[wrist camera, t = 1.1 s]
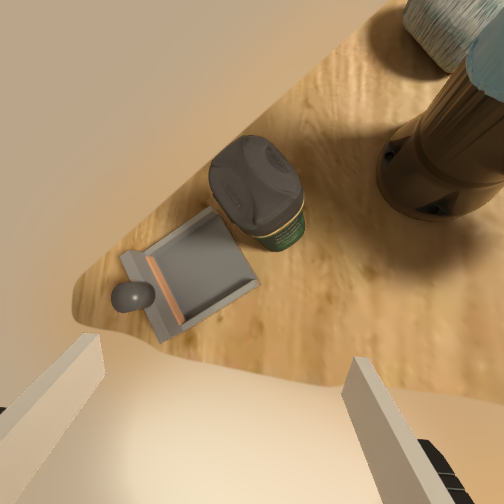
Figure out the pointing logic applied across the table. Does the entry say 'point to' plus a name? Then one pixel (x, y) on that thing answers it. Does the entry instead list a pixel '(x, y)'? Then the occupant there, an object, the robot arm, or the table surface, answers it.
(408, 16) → the spool
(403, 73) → the table surface
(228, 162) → the coffee jar
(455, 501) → the robot arm
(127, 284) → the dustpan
